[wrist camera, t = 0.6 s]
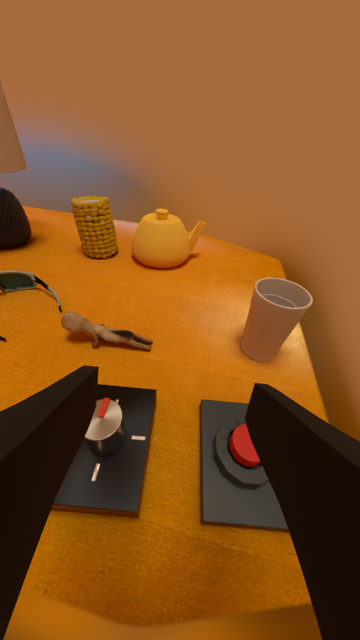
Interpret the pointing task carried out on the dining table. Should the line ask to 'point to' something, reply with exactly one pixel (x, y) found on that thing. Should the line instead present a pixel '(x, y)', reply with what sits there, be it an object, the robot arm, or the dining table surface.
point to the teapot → (163, 240)
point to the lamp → (3, 207)
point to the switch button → (243, 447)
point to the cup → (272, 316)
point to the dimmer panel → (112, 461)
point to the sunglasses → (21, 283)
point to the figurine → (102, 331)
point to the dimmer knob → (106, 428)
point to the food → (95, 225)
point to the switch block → (232, 475)
